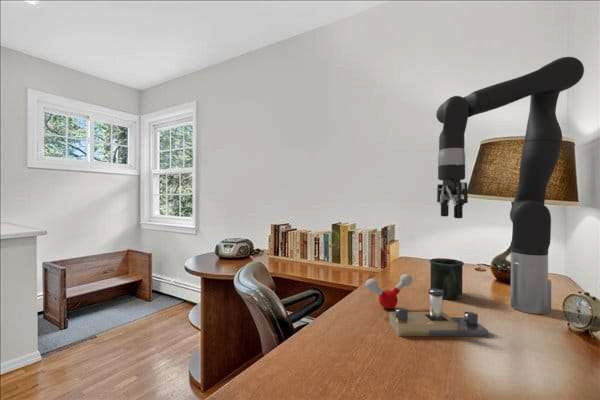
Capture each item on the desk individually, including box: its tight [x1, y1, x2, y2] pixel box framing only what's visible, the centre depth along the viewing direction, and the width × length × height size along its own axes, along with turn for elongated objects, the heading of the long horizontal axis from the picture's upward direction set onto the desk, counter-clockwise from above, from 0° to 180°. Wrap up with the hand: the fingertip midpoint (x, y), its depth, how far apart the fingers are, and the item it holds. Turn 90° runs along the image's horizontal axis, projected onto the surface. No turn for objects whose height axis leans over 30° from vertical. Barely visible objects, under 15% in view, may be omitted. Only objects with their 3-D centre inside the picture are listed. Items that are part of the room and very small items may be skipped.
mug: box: [429, 257, 465, 301], centre depth 109 cm, size 11×15×12 cm
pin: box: [428, 288, 444, 321], centre depth 80 cm, size 4×4×10 cm
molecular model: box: [365, 273, 413, 310], centre depth 95 cm, size 18×6×10 cm, turn 124°
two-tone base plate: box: [388, 307, 489, 337], centre depth 80 cm, size 22×8×5 cm, turn 90°
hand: (451, 217), depth 95 cm, fingers open, 8 cm apart
